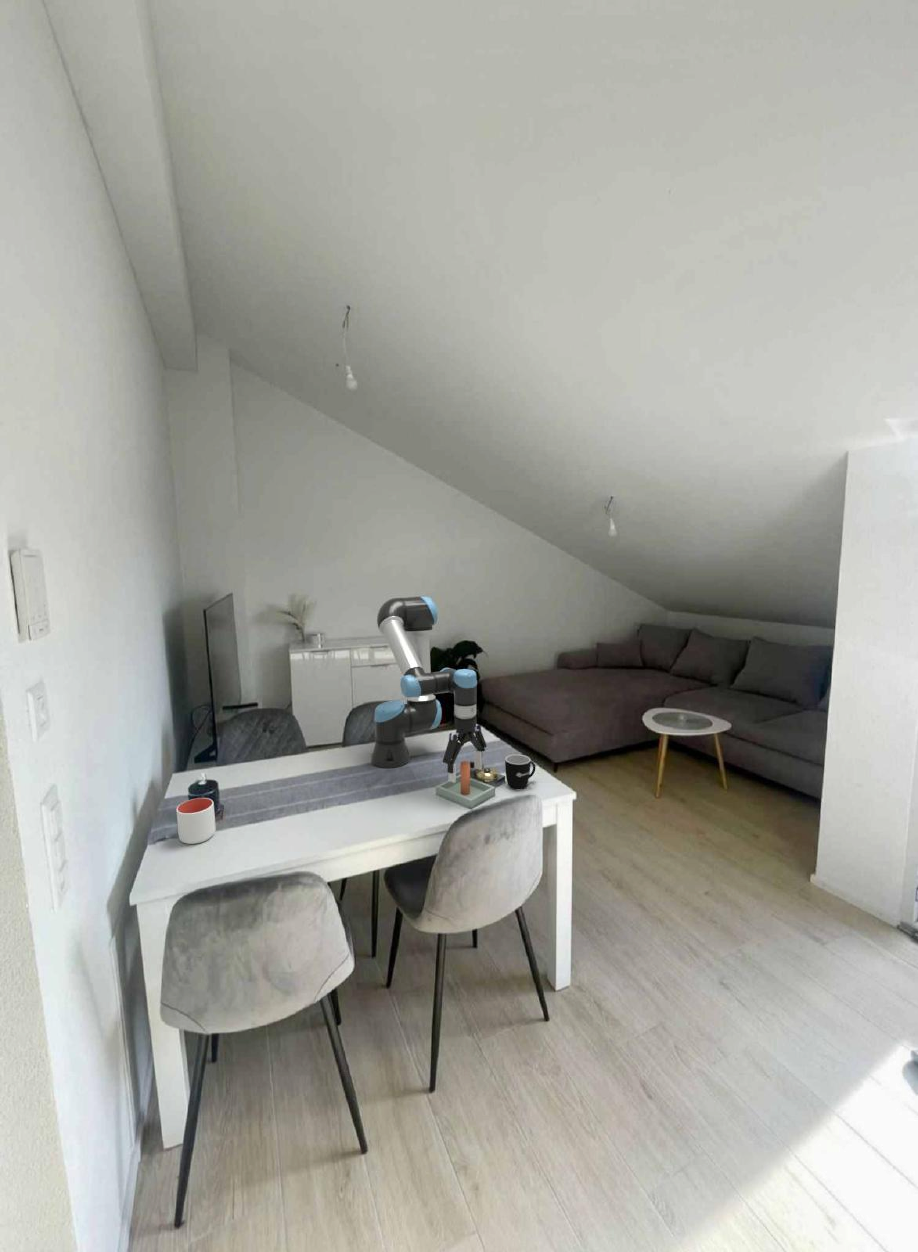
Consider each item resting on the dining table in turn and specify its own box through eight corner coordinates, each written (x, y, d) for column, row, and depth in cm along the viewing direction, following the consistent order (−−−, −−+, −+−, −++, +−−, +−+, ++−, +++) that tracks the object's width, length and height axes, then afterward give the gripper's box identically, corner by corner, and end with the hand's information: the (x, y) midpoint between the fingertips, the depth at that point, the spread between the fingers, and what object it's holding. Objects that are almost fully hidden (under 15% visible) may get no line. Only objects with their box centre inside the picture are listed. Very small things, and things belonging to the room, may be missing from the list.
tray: (435, 794, 193) (435, 786, 193) (460, 782, 203) (460, 774, 203) (471, 809, 183) (471, 800, 182) (495, 795, 193) (495, 787, 192)
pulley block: (505, 782, 203) (505, 768, 202) (488, 791, 195) (488, 777, 194) (473, 771, 212) (473, 757, 212) (456, 779, 205) (456, 765, 204)
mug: (513, 793, 194) (514, 766, 192) (500, 783, 202) (500, 757, 200) (542, 786, 199) (542, 759, 198) (527, 776, 207) (528, 751, 206)
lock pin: (458, 793, 193) (458, 763, 191) (464, 789, 195) (464, 760, 193) (465, 795, 191) (465, 765, 189) (471, 792, 193) (471, 762, 191)
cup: (187, 828, 171) (184, 798, 170) (220, 827, 172) (218, 797, 171) (173, 846, 162) (170, 814, 160) (209, 845, 162) (206, 813, 161)
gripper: (448, 727, 177) (449, 790, 180) (496, 709, 195) (496, 766, 199) (431, 722, 182) (432, 783, 185) (480, 704, 200) (479, 760, 203)
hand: (465, 774), depth 192 cm, fingers open, 13 cm apart
